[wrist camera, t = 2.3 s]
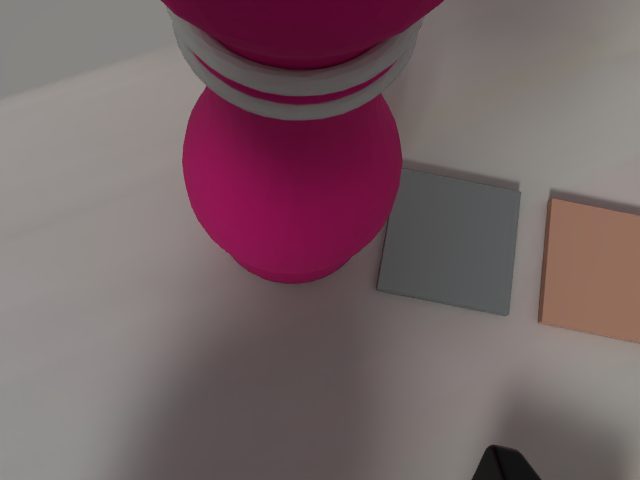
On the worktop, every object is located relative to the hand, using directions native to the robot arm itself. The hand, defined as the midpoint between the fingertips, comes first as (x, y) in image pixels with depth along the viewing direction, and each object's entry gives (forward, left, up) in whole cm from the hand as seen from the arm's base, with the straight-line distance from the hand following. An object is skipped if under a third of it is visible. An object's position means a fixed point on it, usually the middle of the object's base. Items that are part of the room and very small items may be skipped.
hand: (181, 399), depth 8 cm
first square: (+10, -1, -13) cm, 17 cm away
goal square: (+14, -7, -13) cm, 20 cm away
